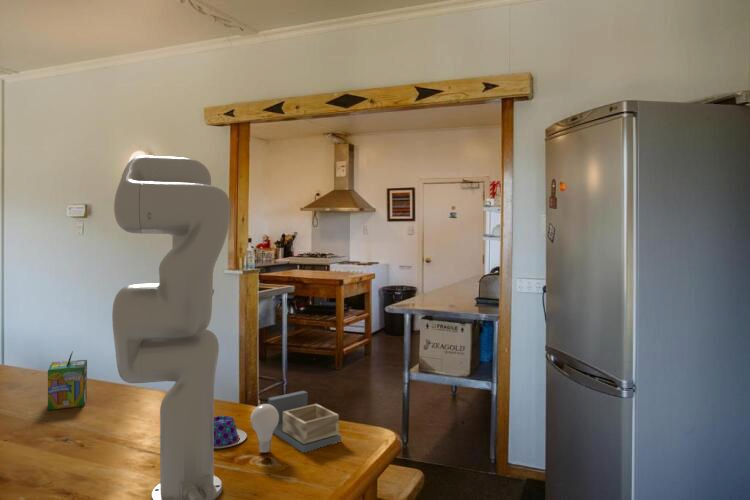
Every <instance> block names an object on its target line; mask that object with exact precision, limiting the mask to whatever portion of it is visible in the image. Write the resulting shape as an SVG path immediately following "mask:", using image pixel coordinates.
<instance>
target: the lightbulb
mask: <svg viewBox="0 0 750 500" xmlns="http://www.w3.org/2000/svg"><path fill="white" fill-rule="evenodd" d="M278 422H279V413H278V411H277V409H276V408H275V407H274V406H272V405H270V404H268V403H262V404H259V405H258V406H256V407H255V408H253V410H252V412H251V415H250V425H251V427H252V429H253V431H255V433H256V436H257V441H258V452H259V453H262V454H268V453H269V452H270V451H271V450H272V438H273V435H274V433H273V431H274V430H275V428H276V427H277V425H278Z"/></svg>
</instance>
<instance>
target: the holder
mask: <svg viewBox="0 0 750 500" xmlns="http://www.w3.org/2000/svg"><path fill="white" fill-rule="evenodd" d="M339 425H340V415H339V413H336V412H334V411H332V410H330V409H328V408H326V407H324V406H322V405H320V404H318V403H314V404H307V406H304V407H299V408H295V409H291V410H287V411H283V431H284V432H286V433H287V434H289V435H290V436H292V437H293V438H295V439H297V440H298V441H300V442H301V443H303V444H306V443H309V442H313V441H316V440H320V439H323V438H327V437H330V436H334V435H337V434H339V435H340V432H339V431H340V430H339Z"/></svg>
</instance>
